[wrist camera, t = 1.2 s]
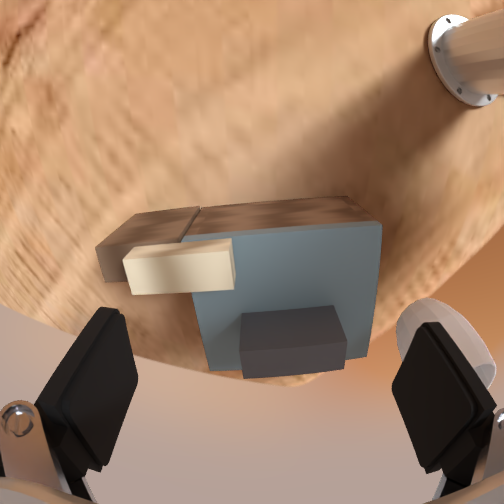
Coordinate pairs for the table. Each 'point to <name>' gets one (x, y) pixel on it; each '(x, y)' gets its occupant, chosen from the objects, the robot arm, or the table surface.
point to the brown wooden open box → (218, 224)
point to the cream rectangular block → (181, 267)
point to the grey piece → (293, 299)
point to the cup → (456, 329)
